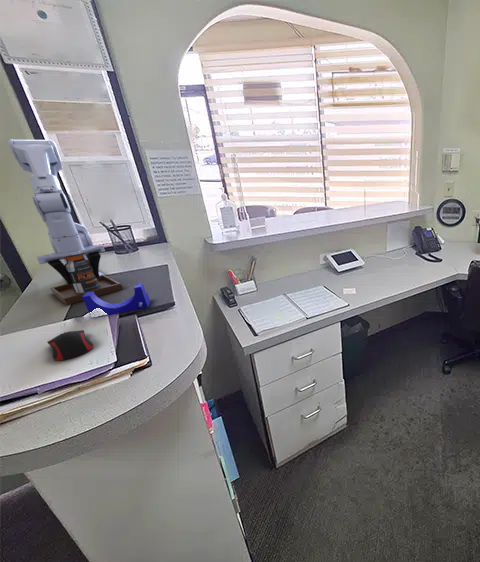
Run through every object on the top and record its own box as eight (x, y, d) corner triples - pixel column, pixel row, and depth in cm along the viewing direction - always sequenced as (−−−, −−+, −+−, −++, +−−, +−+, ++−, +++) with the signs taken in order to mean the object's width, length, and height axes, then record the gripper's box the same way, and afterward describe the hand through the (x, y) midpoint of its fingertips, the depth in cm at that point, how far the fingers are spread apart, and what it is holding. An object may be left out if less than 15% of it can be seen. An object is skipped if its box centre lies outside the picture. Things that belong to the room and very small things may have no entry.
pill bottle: (85, 294, 92) (69, 258, 87) (69, 293, 93) (53, 257, 89) (105, 286, 97) (91, 252, 93) (90, 285, 98) (76, 251, 94)
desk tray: (53, 294, 94) (50, 287, 94) (106, 280, 104) (104, 274, 104) (66, 305, 86) (63, 298, 85) (122, 289, 96) (120, 283, 95)
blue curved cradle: (150, 301, 87) (143, 281, 84) (147, 307, 83) (140, 286, 81) (96, 311, 82) (87, 290, 79) (91, 318, 78) (82, 296, 76)
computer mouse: (85, 333, 71) (79, 318, 69) (96, 349, 64) (89, 333, 63) (47, 345, 66) (39, 329, 65) (55, 364, 60) (46, 347, 58)
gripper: (32, 243, 81) (54, 290, 86) (101, 232, 92) (117, 274, 97) (27, 240, 85) (48, 285, 90) (93, 230, 96) (109, 271, 101)
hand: (83, 279), depth 94 cm, fingers closed on pill bottle, 6 cm apart
